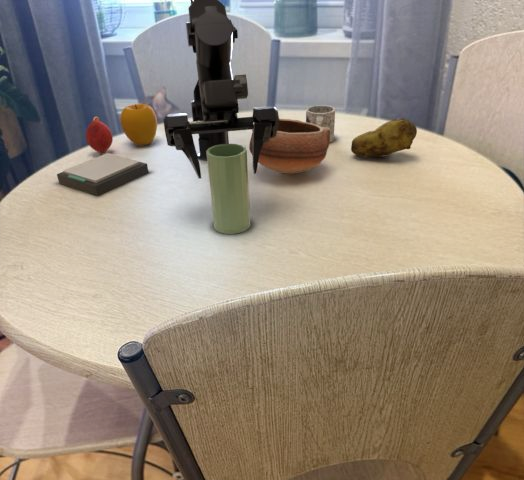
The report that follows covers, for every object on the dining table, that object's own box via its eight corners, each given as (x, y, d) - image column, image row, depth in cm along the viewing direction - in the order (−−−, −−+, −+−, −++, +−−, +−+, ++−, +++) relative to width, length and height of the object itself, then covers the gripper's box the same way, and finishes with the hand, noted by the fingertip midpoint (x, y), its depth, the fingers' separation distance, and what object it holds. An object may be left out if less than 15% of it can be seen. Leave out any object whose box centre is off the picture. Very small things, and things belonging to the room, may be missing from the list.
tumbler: (229, 214, 96) (223, 141, 88) (257, 223, 93) (254, 147, 85) (206, 228, 92) (198, 152, 84) (235, 237, 89) (229, 160, 81)
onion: (109, 158, 121) (101, 121, 115) (85, 157, 122) (76, 120, 116) (119, 149, 125) (112, 113, 120) (96, 148, 126) (88, 113, 121)
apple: (143, 135, 133) (137, 97, 127) (168, 140, 129) (162, 101, 123) (117, 145, 127) (109, 106, 122) (142, 151, 123) (135, 111, 118)
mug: (306, 134, 129) (307, 105, 125) (334, 134, 128) (335, 105, 124) (303, 148, 121) (303, 118, 117) (332, 149, 120) (334, 118, 116)
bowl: (341, 168, 111) (344, 118, 105) (292, 192, 102) (292, 139, 96) (285, 152, 120) (284, 105, 113) (235, 173, 111) (232, 123, 105)
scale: (110, 162, 119) (108, 150, 117) (148, 172, 113) (146, 160, 111) (59, 183, 110) (55, 171, 108) (97, 196, 104) (94, 183, 103)
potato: (359, 147, 121) (362, 110, 115) (416, 154, 116) (422, 116, 111) (347, 159, 115) (349, 121, 110) (405, 168, 110) (411, 128, 105)
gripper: (154, 59, 81) (166, 157, 79) (276, 51, 82) (289, 146, 81) (162, 101, 92) (172, 187, 90) (269, 93, 93) (281, 178, 92)
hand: (227, 175), depth 88 cm, fingers open, 9 cm apart
